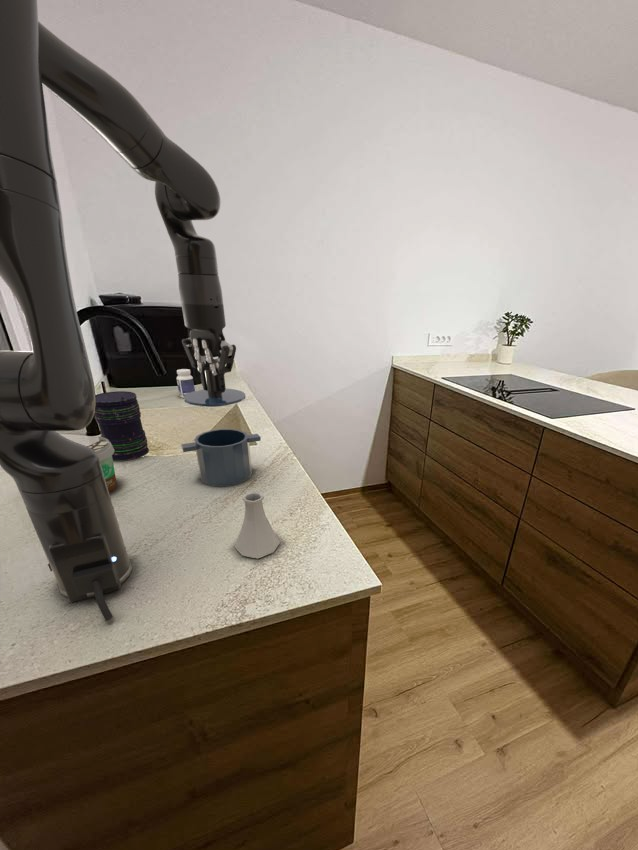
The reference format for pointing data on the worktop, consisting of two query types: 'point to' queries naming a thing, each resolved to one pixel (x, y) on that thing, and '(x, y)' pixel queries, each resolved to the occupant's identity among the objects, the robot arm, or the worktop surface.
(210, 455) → the two-handled cooking pot
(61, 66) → the robot arm
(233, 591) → the worktop surface
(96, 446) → the food container
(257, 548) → the flask
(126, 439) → the storage jar
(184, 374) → the pill bottle
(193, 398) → the pot lid
